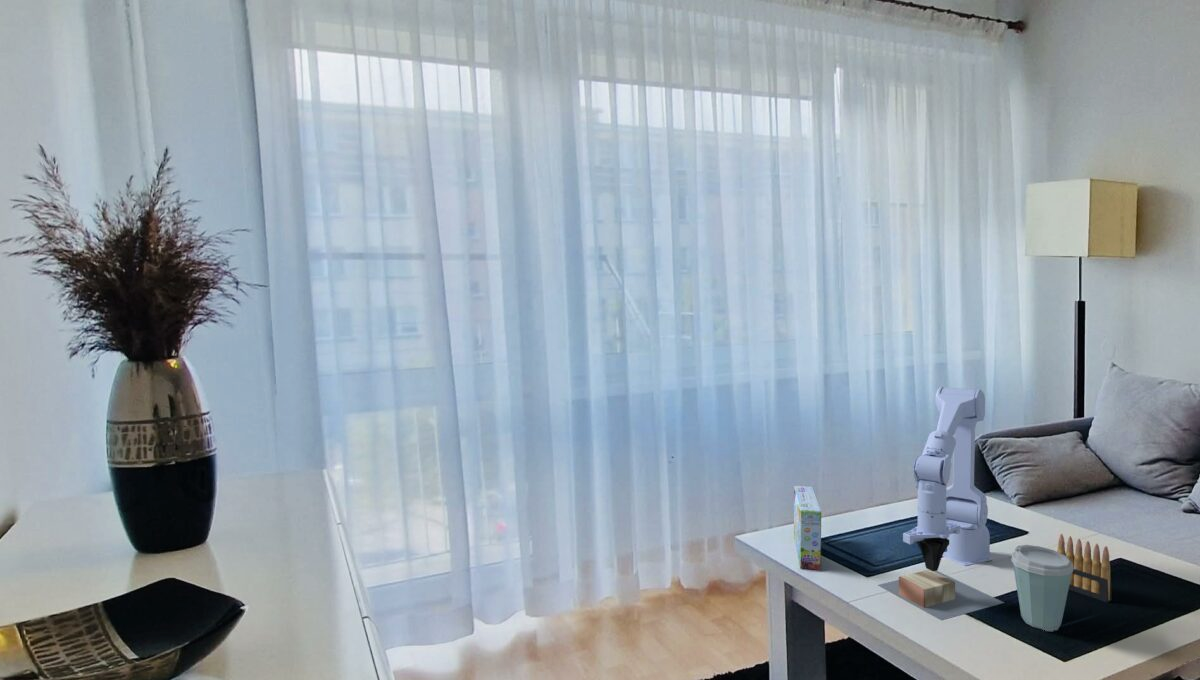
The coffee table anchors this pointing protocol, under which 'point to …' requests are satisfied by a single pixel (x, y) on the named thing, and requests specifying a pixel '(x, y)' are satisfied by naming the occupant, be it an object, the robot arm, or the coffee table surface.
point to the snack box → (807, 527)
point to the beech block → (926, 588)
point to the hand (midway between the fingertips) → (931, 569)
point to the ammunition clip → (1088, 570)
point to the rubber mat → (962, 604)
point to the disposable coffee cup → (1041, 585)
